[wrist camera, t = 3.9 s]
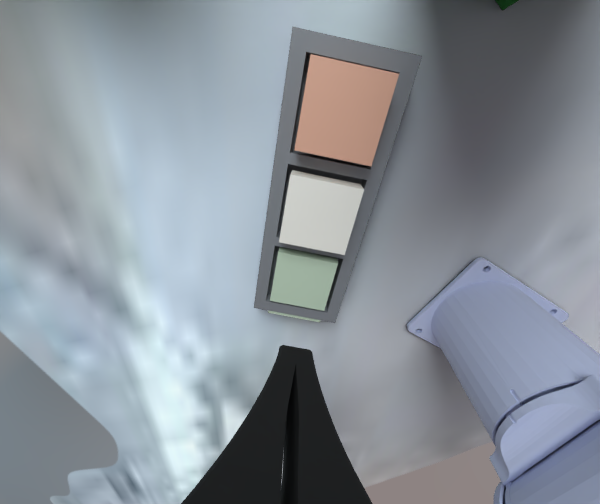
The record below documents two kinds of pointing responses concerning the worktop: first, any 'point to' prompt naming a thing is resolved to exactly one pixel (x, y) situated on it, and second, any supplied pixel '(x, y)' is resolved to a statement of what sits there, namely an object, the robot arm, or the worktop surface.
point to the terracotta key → (344, 109)
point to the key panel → (327, 160)
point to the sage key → (303, 278)
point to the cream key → (320, 212)
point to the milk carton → (505, 3)
